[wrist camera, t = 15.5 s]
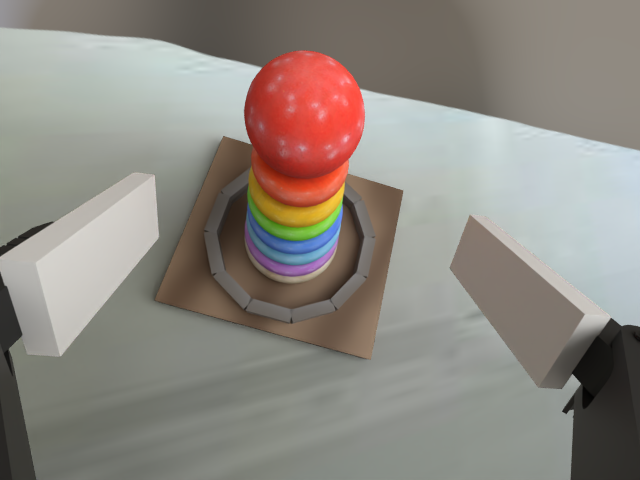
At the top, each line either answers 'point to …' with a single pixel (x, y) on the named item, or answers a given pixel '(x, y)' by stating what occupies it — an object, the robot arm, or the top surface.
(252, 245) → the stacking toy
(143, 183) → the robot arm
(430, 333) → the top surface
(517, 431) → the top surface
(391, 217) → the collar board
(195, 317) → the top surface
